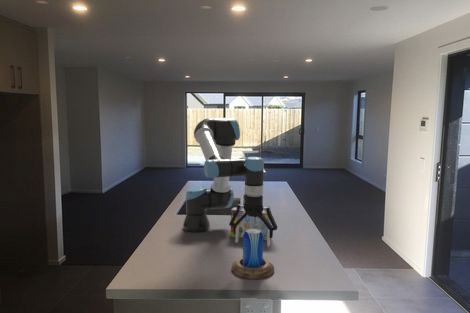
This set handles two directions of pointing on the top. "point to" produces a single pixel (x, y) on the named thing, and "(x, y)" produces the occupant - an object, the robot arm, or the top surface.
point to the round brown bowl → (252, 270)
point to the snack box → (249, 223)
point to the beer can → (253, 248)
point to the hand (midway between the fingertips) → (252, 243)
